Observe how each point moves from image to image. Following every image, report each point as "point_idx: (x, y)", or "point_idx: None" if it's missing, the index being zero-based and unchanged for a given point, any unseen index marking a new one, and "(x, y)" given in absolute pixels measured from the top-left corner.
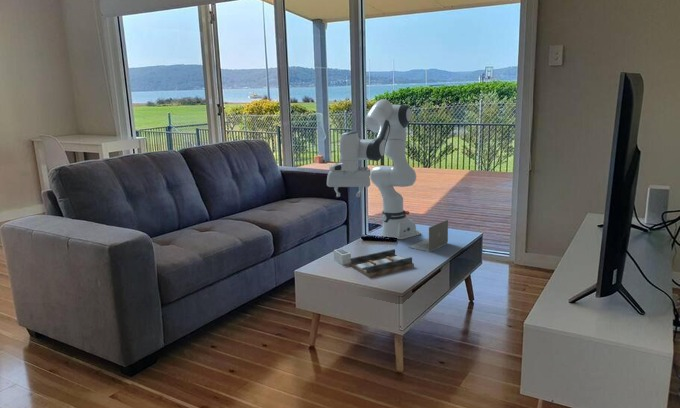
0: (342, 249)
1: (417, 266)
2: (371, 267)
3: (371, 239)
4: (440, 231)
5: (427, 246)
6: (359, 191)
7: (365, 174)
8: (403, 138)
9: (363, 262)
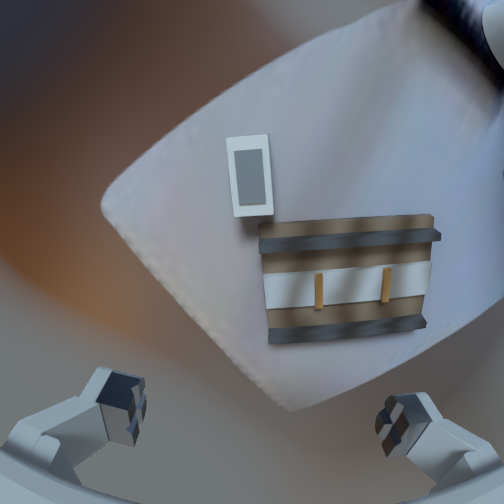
0: (260, 156)
1: None
2: (283, 342)
3: (447, 18)
4: None
5: None
6: (426, 461)
7: None
8: None
9: (303, 251)
